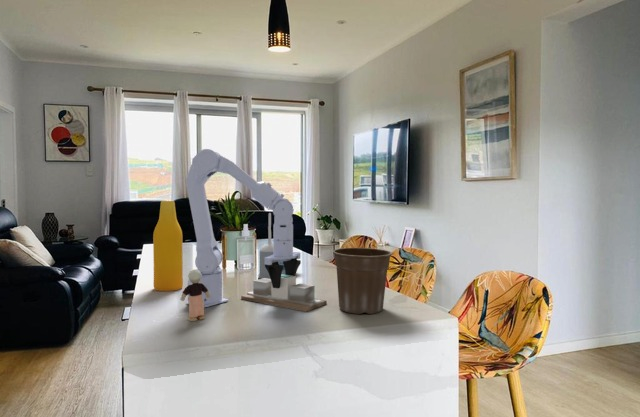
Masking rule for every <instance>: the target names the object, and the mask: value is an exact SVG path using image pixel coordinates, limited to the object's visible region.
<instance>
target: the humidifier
mask: <svg viewBox="0 0 640 417" xmlns="http://www.w3.org/2000/svg"><path fill="white" fill-rule="evenodd" d="M267 216H268V224H267V225H268V226H267V230H268V241H267V243H265V244H263V246H262V247H260V250H259V276H258V277H257V280H258V279H262V278H267V279H271V278H270V275H269V273H268V271H267V269H266V268H265V264H264V258H265V257H269V256H271V255H273V242H272V229H271V228H272V213H271V212H269V213H268V215H267ZM278 264H279V263H278Z"/></svg>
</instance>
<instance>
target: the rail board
mask: <svg viewBox="0 0 640 417" xmlns="http://www.w3.org/2000/svg"><path fill="white" fill-rule="evenodd" d="M315 294H316V293H315V285H313V284H308V283H296V285H293V286H290V299H282V298H277V297H271V279H267V278H262V279H258V278H257V279H253V281H252V291H249V292H247V293H246V294H244V295H241V298H240V299H241V300H244V301H249V302H254V303H260V304H264V305H269V306H275V307H280V308H284V309H285V308H286V309H290V310H291V309H292V310H294V311H295V310H297V311H301V312H302V311H303V312H310V311H312V310H313V309H317V308H319V307H322V306H325V305H327V300H326V299H321V298H315Z"/></svg>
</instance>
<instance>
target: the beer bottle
mask: <svg viewBox="0 0 640 417" xmlns="http://www.w3.org/2000/svg"><path fill="white" fill-rule="evenodd" d="M159 208H160V209H159V217H158V218H159V219H158V221H157V224H156V226H155V227H154V230H153V235H152V236H153V237H152V239H153V242H152V244H153V245H152V246H153V249H152V250H153V253H152V254H153V288H154V290H155V291H156V292H174V291H179V290H181V289H182V288H183V286H184V278H183V275H184V274H183V270H184V269H183V267H184V266H183V259H184V257H183V230H182V228H181V226H180V224H179V222H178V219H177V218H178V217H177V212H176V203H175V201H174V200H161V201H160V207H159Z"/></svg>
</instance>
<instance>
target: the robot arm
mask: <svg viewBox="0 0 640 417" xmlns="http://www.w3.org/2000/svg"><path fill="white" fill-rule="evenodd" d="M217 173H223V174H227V175H229V176H230V177H232V178H234V179H235V180H236V181H238V183H240V184H241V185H243V186H244V187H246V188H247V189H249V190H250V194H251V197H252V199H253V200H255V201H257V202H258V203H259V204H260V205H261V206H262V207H264V208H266V209H267V210H268V211H272V214H273V216H274V217H273V218H274V219H273V220H274V223H273V232H272V233H273V235H272V236H273V239H272V240H273V241H272V244H273V255H271V256H269V257H265V258H264V264H265V268H266V269H267V271H268V273H269V275H270V278H271V282H272V286H273V288H280V283H281V274H282V270H283V267H284V268H285V275H292V276H296V274H297V272H298V269H299V267H300V265H301V264H302V262H301V252H299V251H294V224H293V222H294V220H293V219H294V218H293V214H294V206H293V204H292V202H291V201H290V200H289V199H288V198H286V197H285V195H284V193H280V192H278V191H277V190H276V189H274V188H273V187H272V186H273V185H272V184H271V183H270V182H267V183H266V181H257V180H255V179H254V178H253V177H252V176H251V175H249V173H247V172H246V171H244V170H243V169H242V168H241V167H240V166H238V164H236V163H235V162H234V161H232V160H230V159H229V158H227V157H225V156H223V155H221V154H220V153H218V152H216V151H214V150H213V149H211V148H204V149H202V150H200V151H198V153H197V154H196V155H195V156H194V157H193V158H192V161H191V164H190V168H189V170H188V173H187V175H186V178H185V185H186V191H187V195H188V200H189V201H188V202H189V206H190V211H191V217H192V220H193V221H192V223H193V226H194V227H193V228H194V233H195V238H196V247H195V251H196V257H195V267H196V270H199V271H200V272H201V274H202V276H201V277H202V278H201V279H200V281H199V282H198V283H202V284H203V285H204V286H205V287H206V288H207V289H208V292H209V294H210V297H209V298H207V297H206V295H205V293H204V292H202V297H203V304H204V308H208V307H211V306H216V305H219V304H223V303H225V302H229V299H228V298H224V297H223V269H222V268H221V267H220V265H221V264H222V262H223V253H222V252H221V250H220V249H219V247H218V243H217V241H216V238H215V234H214V231H213V224H212V219H211V213H210V209H209V203H208V197H207V193H206V192H207V191H206V186H205V184H206V183H207V182H208V181H209V179H210V178H211V177H212V176H214V175H215V174H217ZM282 259H283V260H282ZM279 262H283V264H284V265H279V264H278V263H279ZM191 284H193V283H191V281H190V280H189V279H188V281H187V286H189V285H191ZM185 304H187V305H189V295H187V301H186V302H185Z"/></svg>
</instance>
